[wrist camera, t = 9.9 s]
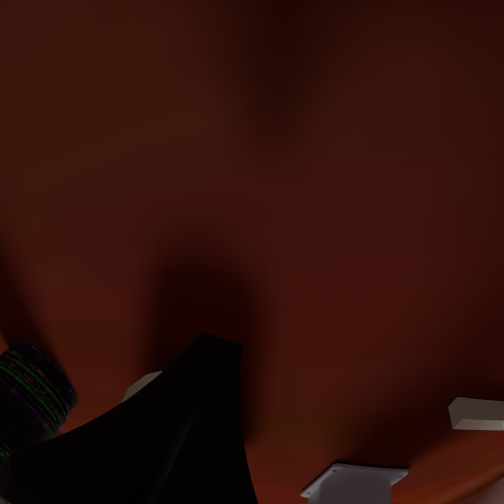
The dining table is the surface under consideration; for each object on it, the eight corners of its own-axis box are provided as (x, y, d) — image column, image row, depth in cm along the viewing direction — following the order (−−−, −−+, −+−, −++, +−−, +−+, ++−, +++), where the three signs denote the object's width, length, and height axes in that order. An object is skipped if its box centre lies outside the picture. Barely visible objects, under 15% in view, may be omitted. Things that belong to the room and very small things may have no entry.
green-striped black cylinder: (50, 403, 31) (-7, 487, 18) (1, 342, 27) (-72, 425, 14) (95, 408, 27) (28, 518, 14) (34, 334, 24) (-59, 445, 11)
